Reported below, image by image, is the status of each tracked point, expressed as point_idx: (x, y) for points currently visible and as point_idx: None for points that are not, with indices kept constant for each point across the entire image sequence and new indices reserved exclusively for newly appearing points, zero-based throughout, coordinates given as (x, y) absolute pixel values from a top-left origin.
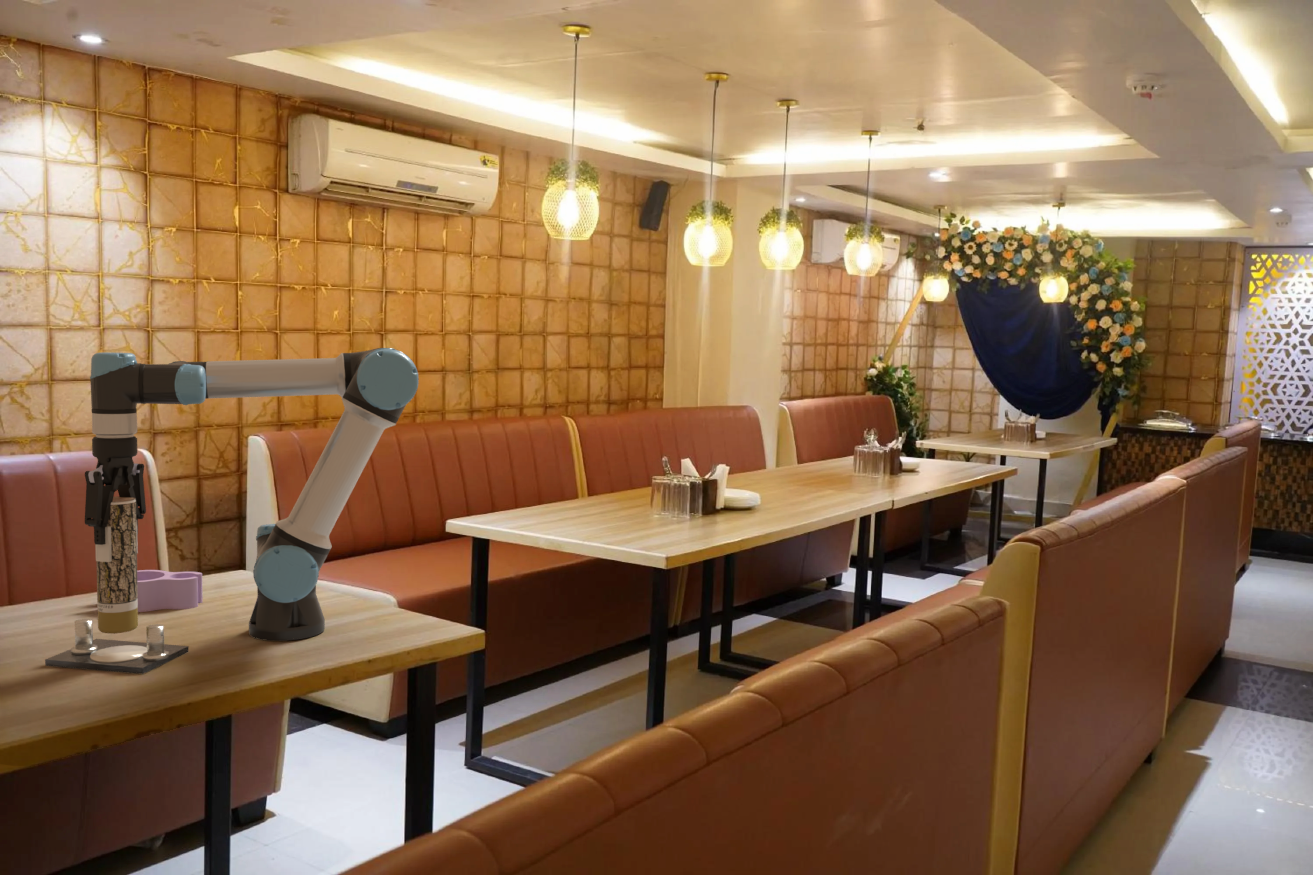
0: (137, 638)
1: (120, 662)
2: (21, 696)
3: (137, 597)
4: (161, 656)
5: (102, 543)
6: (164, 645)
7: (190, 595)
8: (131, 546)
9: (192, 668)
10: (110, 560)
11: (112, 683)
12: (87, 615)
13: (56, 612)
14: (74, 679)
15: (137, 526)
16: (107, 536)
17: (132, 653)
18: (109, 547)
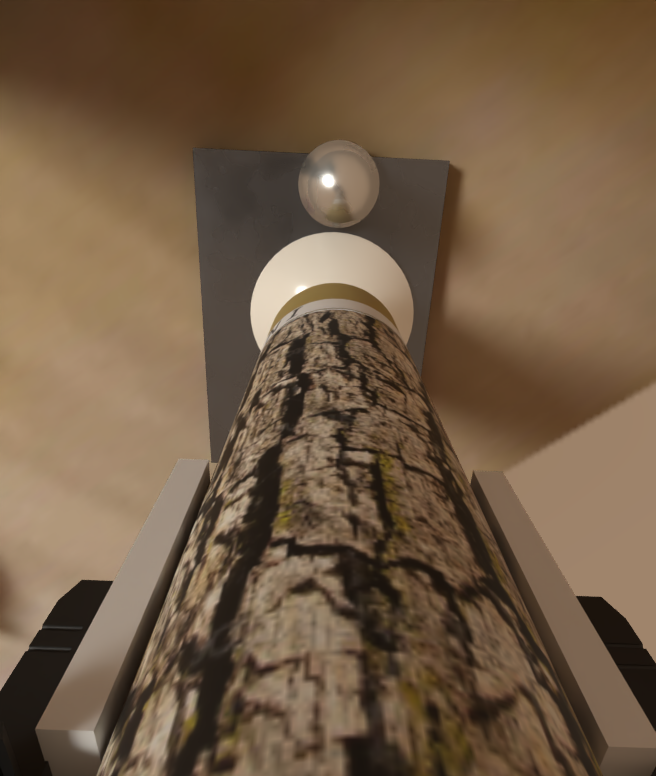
0: (127, 389)
1: (404, 266)
2: (644, 368)
3: (296, 318)
4: (360, 146)
5: (601, 604)
6: (211, 236)
7: None
8: (368, 445)
9: (362, 14)
10: (486, 476)
11: (537, 201)
12: (8, 607)
13: None
14: (506, 328)
15: (33, 655)
16: (597, 641)
17: (329, 277)
18: (536, 544)
